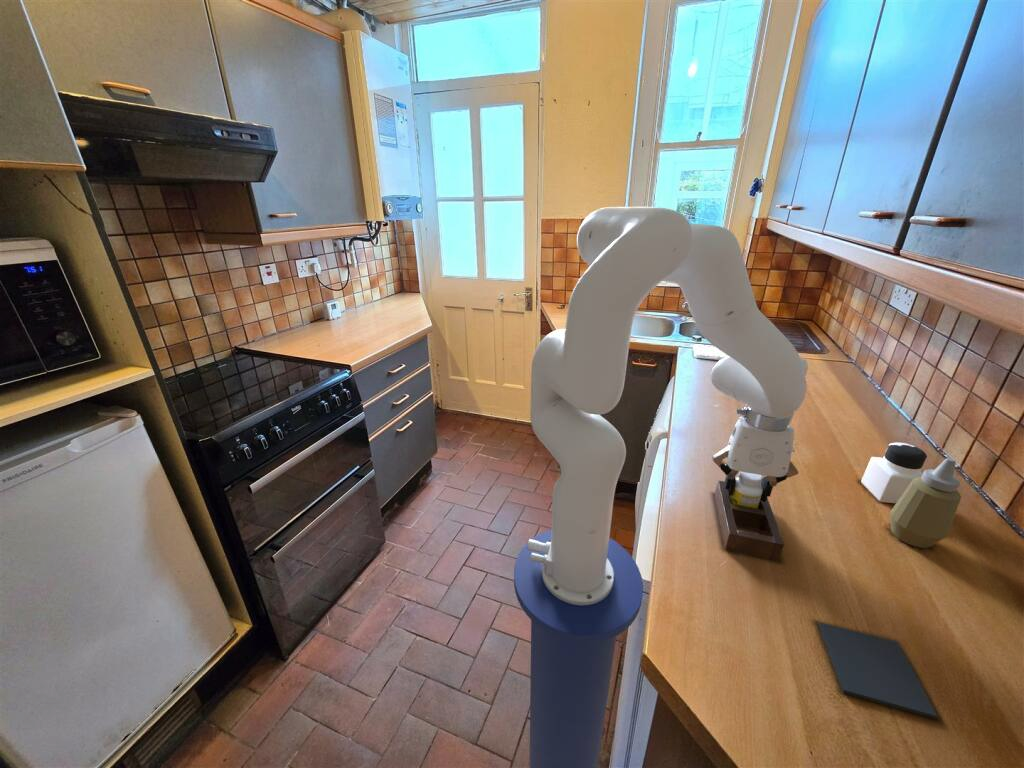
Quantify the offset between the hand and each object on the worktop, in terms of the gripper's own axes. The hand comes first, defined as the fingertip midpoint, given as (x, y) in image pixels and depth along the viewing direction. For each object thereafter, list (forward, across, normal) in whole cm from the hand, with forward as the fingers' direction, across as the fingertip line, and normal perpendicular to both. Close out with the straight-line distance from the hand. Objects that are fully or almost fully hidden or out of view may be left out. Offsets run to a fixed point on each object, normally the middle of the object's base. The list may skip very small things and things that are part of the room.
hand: (745, 493), depth 83 cm
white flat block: (+5, +8, +101) cm, 102 cm away
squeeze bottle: (+5, +30, +2) cm, 31 cm away
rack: (+5, 0, -4) cm, 6 cm away
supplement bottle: (+5, 0, 0) cm, 5 cm away
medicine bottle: (+5, +32, +16) cm, 36 cm away
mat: (+5, +12, -29) cm, 31 cm away
